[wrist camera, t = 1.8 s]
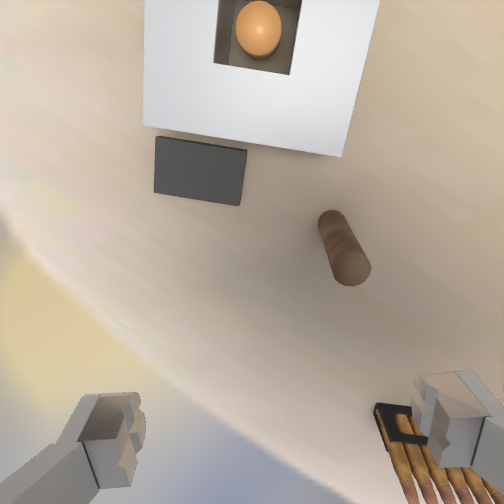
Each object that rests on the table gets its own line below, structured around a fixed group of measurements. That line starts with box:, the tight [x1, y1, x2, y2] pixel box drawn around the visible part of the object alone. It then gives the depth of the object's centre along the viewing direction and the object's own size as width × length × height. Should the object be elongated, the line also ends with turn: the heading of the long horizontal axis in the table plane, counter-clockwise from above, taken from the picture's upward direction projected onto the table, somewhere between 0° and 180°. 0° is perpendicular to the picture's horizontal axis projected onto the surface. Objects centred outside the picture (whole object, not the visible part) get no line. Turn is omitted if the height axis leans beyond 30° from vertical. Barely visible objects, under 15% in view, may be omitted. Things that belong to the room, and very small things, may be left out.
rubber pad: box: [154, 136, 247, 206], centre depth 32 cm, size 8×5×1 cm, turn 82°
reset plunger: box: [236, 1, 281, 59], centre depth 24 cm, size 3×3×2 cm
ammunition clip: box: [373, 403, 504, 504], centre depth 37 cm, size 11×2×12 cm, turn 85°
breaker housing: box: [143, 0, 380, 157], centre depth 25 cm, size 14×14×7 cm
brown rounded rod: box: [318, 210, 371, 286], centre depth 29 cm, size 3×3×10 cm
